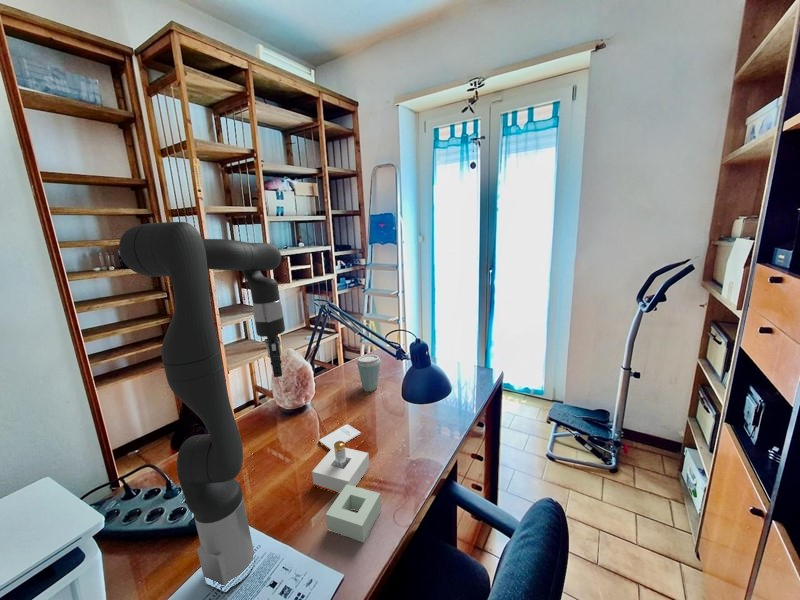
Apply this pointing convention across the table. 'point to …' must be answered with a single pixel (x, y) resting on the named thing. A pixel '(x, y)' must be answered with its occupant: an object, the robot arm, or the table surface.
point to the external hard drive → (340, 436)
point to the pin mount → (352, 522)
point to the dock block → (341, 470)
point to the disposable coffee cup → (369, 371)
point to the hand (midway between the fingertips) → (277, 370)
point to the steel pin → (340, 454)
